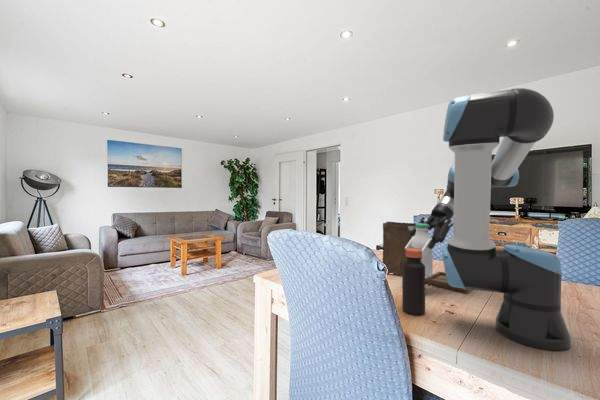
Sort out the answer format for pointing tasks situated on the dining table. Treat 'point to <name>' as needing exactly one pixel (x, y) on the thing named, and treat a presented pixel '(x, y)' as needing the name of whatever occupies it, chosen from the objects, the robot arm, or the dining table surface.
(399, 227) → the book
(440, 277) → the walnut tray
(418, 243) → the milk bottle
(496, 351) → the dining table surface
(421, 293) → the vinegar
